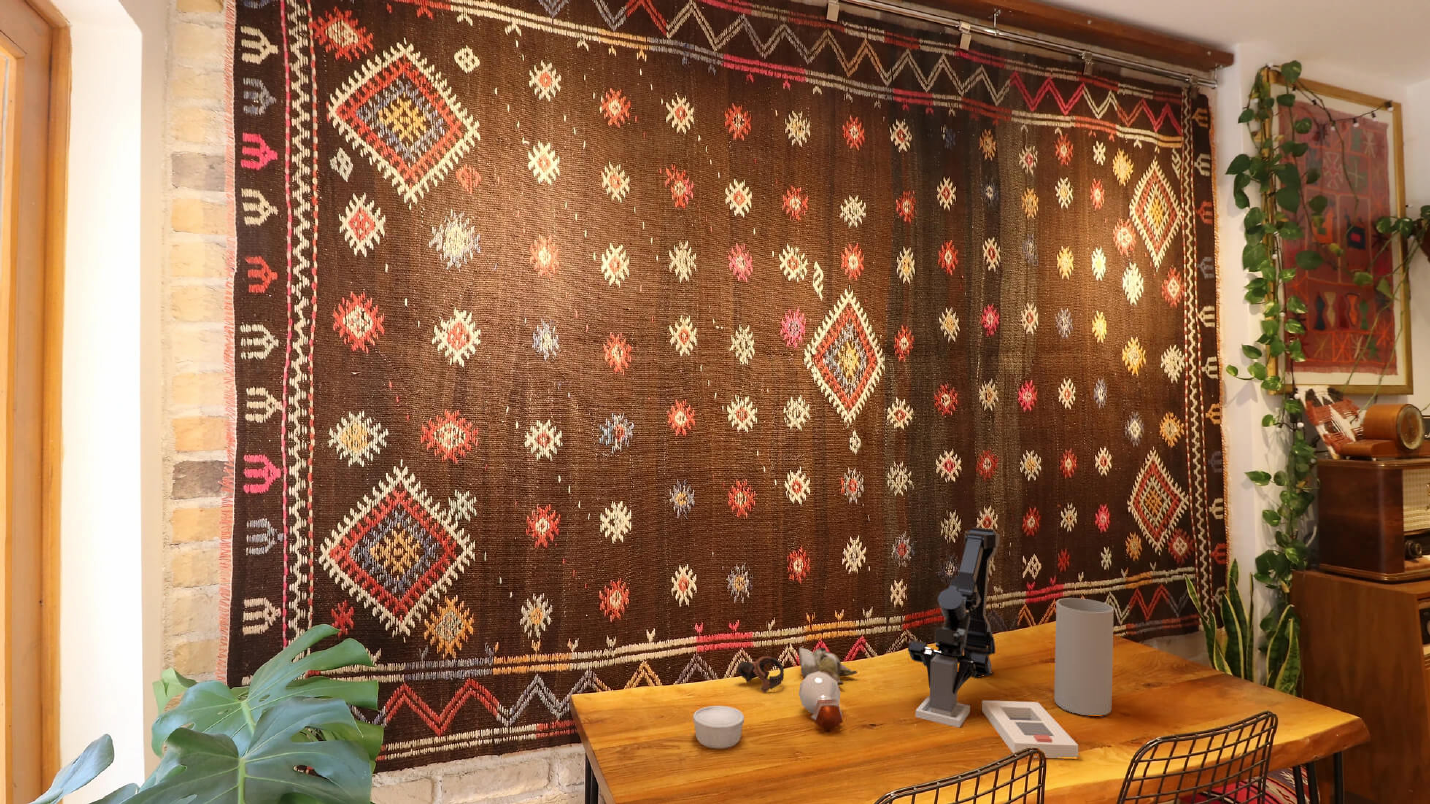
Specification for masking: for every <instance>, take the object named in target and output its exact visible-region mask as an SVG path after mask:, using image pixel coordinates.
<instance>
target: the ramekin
mask: <svg viewBox="0 0 1430 804" xmlns="http://www.w3.org/2000/svg"><path fill="white" fill-rule="evenodd" d="M692 718H693V719H692V721H693V724H694V730H695V731H694V732H695V737H696V739H697V741H698V742H699V743H700V744H701V745H703V746H704V747H707V748H710V749H720V750H721V749H728V748H731V747H733V746H735V745H737V744H738V743H739V741H740V740H741V737H742V733H743V731H742V730H743V725H744V723H745V715H744V714H743V713H742V711H740V710H739V709H737V708H734V707H732V706H726V705H725V706H724V705H713V706H712V705H711V706H710V705H709V706H705V707H704V706H703V707H702V708H699V709H697V710H696V711H695V712H694V713H693V717H692Z"/></svg>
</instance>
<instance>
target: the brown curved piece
mask: <svg viewBox="0 0 1430 804" xmlns="http://www.w3.org/2000/svg"><path fill="white" fill-rule="evenodd" d="M770 663H772V664H773V666H775V667H776V668H778V669H779V671H780V672H779V673H778V674H777V675H773V676H772V675H770V671H768V670H766V669H764V668H765V666H766V665H768V664H770ZM736 669H737V673H738V674H739V676H741V677H742V678H744V679H745V681H746V683H748V684H749V683H750V682H751V681H752V680H753V679H756V678H758V680H760V681H761V682H762V686H761V687H760V691H762V692H763V693H767V692H768V691H769V690H772V689H774V688H776V687H777V686H780V685H781V684H782V682H783V681H784V676H785V668H784V666H783V664H782V663H781V662H780V660H778V659H776V658H774V657H771V656H768V655H766V656H761V657H759V658H758V659H756V660H755V661H754V662H750V661H741V662H739V664H738V665H737V668H736ZM769 675H770V676H769Z"/></svg>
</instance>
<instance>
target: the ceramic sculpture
mask: <svg viewBox="0 0 1430 804" xmlns="http://www.w3.org/2000/svg"><path fill="white" fill-rule="evenodd" d="M798 655H799V656H798V659H799V660H798V661H799V665H800V673H801V675H802V676H803V677H804V678H805V677H806V676H807V675H808V674H811V673H814V672H817V671H819V672H823V673H826V674H828V675H830V676H831V677H832V678H833V679H834V680H836V681H837V683H838V686H841V685H844V682H843V681H842V680H841V678H840V677H849V676H853V675H856V674H858V671H857V670H851V669H850V668H848V667H847V666H845V664H842V663H841V660H840V658H839V657H838V655H837V654H834V653H832V652H829V651H827V649H826V648H825V647H820V648H817V649H816V650H814V652H813V651H812V650H810V649H807V648H804V647H801V646H800V647H799V648H798Z"/></svg>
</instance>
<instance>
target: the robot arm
mask: <svg viewBox="0 0 1430 804" xmlns="http://www.w3.org/2000/svg"><path fill="white" fill-rule="evenodd" d="M963 541H964V549H963V553H962V557H961V562H960V566H959V570H958V573H957V575H956V576H955V577H954V578H952V579H951V580H950V583H949V585H948V587H947V588H946V589H944V590H942V591H941V592H940V593H939V595H938V596H937V601H938V605H939V607H940V611H941V614H942V617H944V622H943V626H942V627H940V628H939V627H936V628H935V631H934V640H933V641H934V642H935V647H936V648H937V649H933V648H931V647H928V644H927V642H923V641H919V640H911V641H910V642H909V643H908V647H907V651H908V653H909V657H910V658H911V660H912V661H913V662H917V663H922V664H923V666H924V667H926V669H927V678H928V687H929V689H930V669H931V660H932V659H933V657H934V656H935V655H936V654H938V655H943V656H948V657H953V658H958V673H957V676H956V679H955V683H954V687H953V694H956V692H957V693H958V691H959V690H960V689H961V687H962V686H963V685H964V683H966V681H968V680H969V678H971V677H974V676H975V677H974V678H976V677H978V678H980V677H979V676H982V675H987V676H991V675H990V674H992V673H993V674H994V671H992V663H991V660H990V656H992V655H995V654H996V643H995V637H994V635H993V632H992V631H991V630H992V626H991V624H990V622H989V620H988V617H987V616H986V615H987V613H986V611H987V599H988V586H989V573H990V564H991V563H990V562H991V561H992V559H993V558H994V557H995V556H996V554H997V552H998V551H997V550H998V548H999V546H1000V541H1001V538H1000V534H999V533H997V532H996V529H994V528H984V527H975V526H972V527H971V529H970V530H965V531H964V540H963ZM991 672H992V673H991ZM993 674H992V675H993ZM987 676H986V677H987Z"/></svg>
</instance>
